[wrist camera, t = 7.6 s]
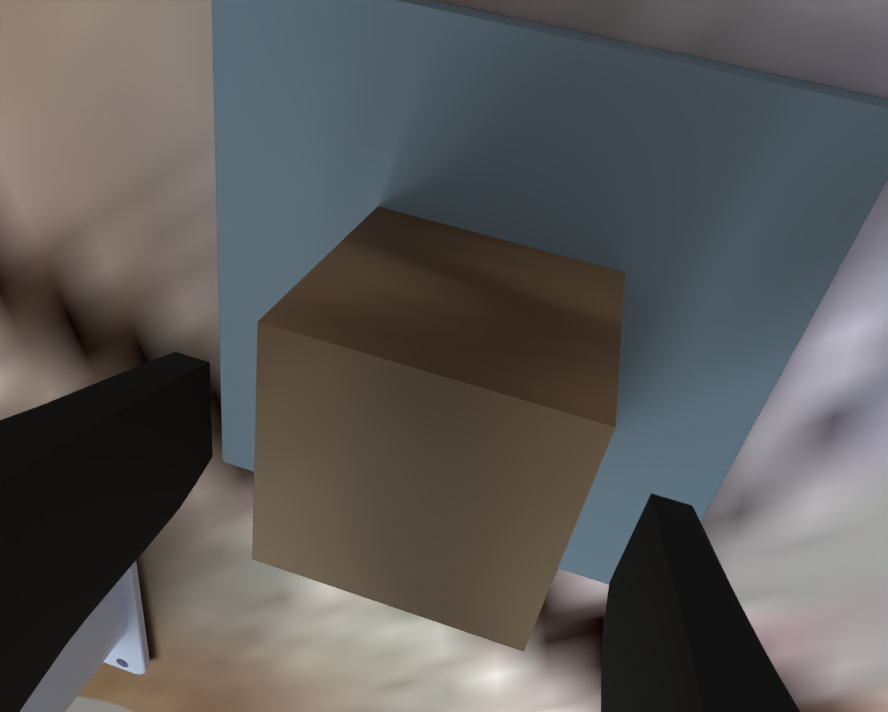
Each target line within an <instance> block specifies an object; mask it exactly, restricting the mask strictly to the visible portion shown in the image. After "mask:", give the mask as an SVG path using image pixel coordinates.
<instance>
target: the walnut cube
mask: <svg viewBox="0 0 888 712" xmlns="http://www.w3.org/2000/svg"><path fill="white" fill-rule="evenodd" d="M624 278H625V272H622V271H618V270H615V269H611V268H607V267H603V266H600V265H596V264H592V263H588V262H585V261H581V260H577V259H573V258H570V257H566V256H562V255H558V254H555V253H551V252H547V251H543V250H540V249H536V248H532V247H528V246H525V245H521V244H517V243H513V242H510V241H506V240H502V239H499V238H495V237H491V236H487V235H484V234H480V233H476V232H472V231H469V230H465V229H461V228H457V227H454V226H450V225H446V224H442V223H439V222H435V221H431V220H427V219H424V218H420V217H416V216H412V215H409V214H405V213H401V212H397V211H394V210H390V209H386V208H382V207H379V206H377V207H376V208H375V209H374V210H373V211H372V212H371V213H370V214H369V215H368V216H367V217H366V218H365V219H364V220H363V221H362V222H361V223H360V224H359V225H358V226H357V227H356V228H354V229H353V230H352V231H351V232H350V233H349V234H348V235H347V236H346V237H345V238H344V239H343V240H342V241H341V242H340V243H339V244H338V245H337V246H336V247H335V248H334V249H333V250H332V251H330V252H329V253H328V254H327V255H326V256H325V257H324V258H323V259H322V260H321V261H320V262H319V263H318V264H317V265H316V266H315V267H314V268H313V269H312V270H311V271H310V272H309V273H308V274H307V275H305V276H304V277H303V278H302V279H301V280H300V281H299V282H298V283H297V284H296V285H295V286H294V287H293V288H292V289H291V290H290V291H289V292H288V293H287V294H286V295H285V296H284V297H283V298H281V299H280V300H279V301H278V302H277V303H276V304H275V305H274V306H273V307H272V308H271V309H270V310H269V311H268V312H267V313H266V314H265V315H264V316H263V317H262V318H261V319H260V320H259V321H257V366H256V412H255V458H254V504H253V551H252V559H254V560H257V561H260V562H262V563H265V564H268V565H271V566H274V567H277V568H280V569H283V570H286V571H289V572H292V573H295V574H298V575H301V576H304V577H307V578H309V579H312V580H315V581H318V582H321V583H324V584H327V585H330V586H333V587H336V588H339V589H342V590H345V591H348V592H351V593H353V594H356V595H359V596H362V597H365V598H368V599H371V600H374V601H377V602H380V603H383V604H386V605H389V606H392V607H395V608H398V609H400V610H403V611H406V612H409V613H412V614H415V615H418V616H421V617H424V618H427V619H430V620H433V621H436V622H439V623H442V624H444V625H447V626H450V627H453V628H456V629H459V630H462V631H465V632H468V633H471V634H474V635H477V636H480V637H483V638H486V639H488V640H491V641H494V642H497V643H500V644H503V645H506V646H509V647H512V648H515V649H518V650H521V651H524V649H525V647H526V644H527V642H528V639H529V637H530V635H531V632H532V630H533V627H534V625H535V622H536V620H537V618H538V615H539V613H540V610H541V608H542V605H543V603H544V601H545V598H546V596H547V593H548V591H549V588H550V586H551V583H552V581H553V579H554V576H555V574H556V571H557V569H558V566H559V564H560V562H561V559H562V557H563V554H564V552H565V549H566V547H567V545H568V542H569V540H570V537H571V535H572V532H573V530H574V527H575V525H576V523H577V520H578V518H579V515H580V513H581V510H582V508H583V506H584V503H585V501H586V498H587V496H588V493H589V491H590V489H591V486H592V484H593V481H594V479H595V476H596V474H597V471H598V469H599V467H600V464H601V462H602V459H603V457H604V454H605V452H606V450H607V447H608V445H609V442H610V440H611V437H612V435H613V433H614V430H615V428H616V413H617V396H618V379H619V363H620V346H621V329H622V312H623V295H624Z"/></svg>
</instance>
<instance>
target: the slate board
mask: <svg viewBox="0 0 888 712" xmlns="http://www.w3.org/2000/svg"><path fill="white" fill-rule="evenodd" d="M212 30H213V73H214V115H215V158H216V201H217V244H218V286H219V329H220V372H221V415H222V457H223V462H226V463H229V464H232V465H235V466H238V467H241V468H244V469H248V470H251V471H254V458H255V412H256V366H257V321H259V320H260V319H261V318H262V317H263V316H264V315H265V314H266V313H267V312H268V311H269V310H270V309H271V308H272V307H273V306H274V305H275V304H276V303H277V302H278V301H279V300H280V299H281V298H283V297H284V296H285V295H286V294H287V293H288V292H289V291H290V290H291V289H292V288H293V287H294V286H295V285H296V284H297V283H298V282H299V281H300V280H301V279H302V278H303V277H304V276H305V275H307V274H308V273H309V272H310V271H311V270H312V269H313V268H314V267H315V266H316V265H317V264H318V263H319V262H320V261H321V260H322V259H323V258H324V257H325V256H326V255H327V254H328V253H329V252H330V251H332V250H333V249H334V248H335V247H336V246H337V245H338V244H339V243H340V242H341V241H342V240H343V239H344V238H345V237H346V236H347V235H348V234H349V233H350V232H351V231H352V230H353V229H354V228H356V227H357V226H358V225H359V224H360V223H361V222H362V221H363V220H364V219H365V218H366V217H367V216H368V215H369V214H370V213H371V212H372V211H373V210H374V209H375V208H376V207H377V206H379V207H382V208H386V209H390V210H394V211H397V212H401V213H405V214H409V215H412V216H416V217H420V218H424V219H427V220H431V221H435V222H439V223H442V224H446V225H450V226H454V227H457V228H461V229H465V230H469V231H472V232H476V233H480V234H484V235H487V236H491V237H495V238H499V239H502V240H506V241H510V242H513V243H517V244H521V245H525V246H528V247H532V248H536V249H540V250H543V251H547V252H551V253H555V254H558V255H562V256H566V257H570V258H573V259H577V260H581V261H585V262H588V263H592V264H596V265H600V266H603V267H607V268H611V269H615V270H618V271H622V272H625V278H624V295H623V312H622V329H621V346H620V363H619V379H618V396H617V413H616V428H615V430H614V433H613V435H612V437H611V440H610V442H609V445H608V447H607V450H606V452H605V454H604V457H603V459H602V462H601V464H600V467H599V469H598V471H597V474H596V476H595V479H594V481H593V484H592V486H591V489H590V491H589V493H588V496H587V498H586V501H585V503H584V506H583V508H582V510H581V513H580V515H579V518H578V520H577V523H576V525H575V527H574V530H573V532H572V535H571V537H570V540H569V542H568V545H567V547H566V549H565V552H564V554H563V557H562V559H561V562H560V564H559V566H558V568H559V569H562V570H565V571H568V572H572V573H575V574H578V575H581V576H584V577H587V578H590V579H594V580H597V581H600V582H603V583H606V584H609V583H610V580H611V578H612V576H613V574H614V571H615V569H616V567H617V565H618V563H619V561H620V559H621V557H622V554H623V552H624V550H625V548H626V546H627V544H628V542H629V540H630V537H631V535H632V533H633V531H634V529H635V527H636V525H637V522H638V520H639V518H640V516H641V514H642V512H643V510H644V508H645V505H646V503H647V501H648V499H649V497H650V495H651V493H652V494H655V495H659V496H662V497H665V498H669V499H672V500H675V501H679V502H682V503H686V504H689V505H692V506H693V508H694V510H695V512H696V513H697V515H698V518H699V520H700V522H701V520H702V518H703V516H704V514H705V512H706V511H707V509H708V507H709V505H710V503H711V502H712V500H713V498H714V496H715V494H716V492H717V491H718V489H719V487H720V485H721V483H722V481H723V480H724V478H725V476H726V474H727V472H728V470H729V469H730V467H731V465H732V463H733V461H734V459H735V458H736V456H737V454H738V452H739V450H740V448H741V447H742V445H743V443H744V441H745V439H746V437H747V436H748V434H749V432H750V430H751V428H752V426H753V425H754V423H755V421H756V419H757V417H758V416H759V414H760V412H761V410H762V408H763V406H764V405H765V403H766V401H767V399H768V397H769V395H770V394H771V392H772V390H773V388H774V386H775V384H776V383H777V381H778V379H779V377H780V375H781V373H782V372H783V370H784V368H785V366H786V364H787V362H788V361H789V359H790V357H791V355H792V353H793V351H794V350H795V348H796V346H797V344H798V342H799V340H800V339H801V337H802V335H803V333H804V331H805V329H806V328H807V326H808V324H809V322H810V320H811V319H812V317H813V315H814V313H815V311H816V309H817V308H818V306H819V304H820V302H821V300H822V298H823V297H824V295H825V293H826V291H827V289H828V287H829V286H830V284H831V282H832V280H833V278H834V276H835V275H836V273H837V271H838V269H839V267H840V265H841V264H842V262H843V260H844V258H845V256H846V254H847V253H848V251H849V249H850V247H851V245H852V243H853V242H854V240H855V238H856V236H857V234H858V233H859V231H860V229H861V227H862V225H863V223H864V222H865V220H866V218H867V216H868V214H869V212H870V211H871V209H872V207H873V205H874V203H875V201H876V200H877V198H878V196H879V194H880V192H881V190H882V189H883V187H884V185H885V183H886V181H887V179H888V99H885V98H881V97H876V96H872V95H867V94H862V93H858V92H853V91H849V90H844V89H839V88H835V87H830V86H826V85H821V84H816V83H812V82H807V81H803V80H798V79H793V78H789V77H784V76H780V75H775V74H770V73H766V72H761V71H757V70H752V69H747V68H743V67H738V66H734V65H729V64H724V63H720V62H715V61H711V60H706V59H701V58H697V57H692V56H688V55H683V54H678V53H674V52H669V51H665V50H660V49H655V48H651V47H646V46H642V45H637V44H632V43H628V42H623V41H619V40H614V39H609V38H605V37H600V36H596V35H591V34H586V33H582V32H577V31H573V30H568V29H563V28H559V27H554V26H550V25H545V24H540V23H536V22H531V21H527V20H522V19H517V18H513V17H508V16H504V15H499V14H494V13H490V12H485V11H481V10H476V9H471V8H467V7H462V6H458V5H453V4H448V3H444V2H439V1H435V0H212Z"/></svg>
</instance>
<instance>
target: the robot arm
mask: <svg viewBox="0 0 888 712" xmlns="http://www.w3.org/2000/svg"><path fill="white" fill-rule="evenodd" d="M211 458H212V428H211V396H210V365H209V362H207V361H204V360H200V359H197V358H193V357H190V356H187V355H183V354H180V353H177V352H174V353H172V354H169V355H166V356H163V357H160V358H158V359H155V360H152V361H150V362H147V363H145V364H142V365H140V366H137V367H135V368H132V369H130V370H127V371H125V372H122V373H120V374H118V375H115V376H113V377H110V378H108V379H105V380H103V381H101V382H98V383H96V384H93V385H91V386H88V387H86V388H83V389H81V390H78V391H76V392H73V393H71V394H69V395H66V396H64V397H61V398H59V399H56V400H54V401H51V402H49V403H46V404H44V405H41V406H39V407H36V408H33V409H30V410H28V411H25V412H22V413H19V414H17V415H14V416H11V417H8V418H6V419H3V420H0V712H65V711H66V710H67V709H68V707H69V706H70V705H71V704H72V702H73V701H74V699H75V698H76V697H77V696H78V694H79V693H80V692H81V690H82V689H83V688H84V687H85V685H86V684H87V683H88V681H89V680H90V679H91V677H92V676H93V675H94V673H95V672H96V671H97V669H98V668H99V667H100V665H101V664H102V663H103V662H105V663H107V664H110V665H113V666H116V667H118V668H121V669H124V670H127V671H129V672H132V673H135V674H143V673H145V672H146V670H147V669H148V667H149V666H150V660H149V652H148V645H147V637H146V630H145V623H144V615H143V608H142V600H141V593H140V585H139V578H138V571H137V563H136V560H137V558H138V557H139V556H140V555H141V554H142V553H143V551H144V550H145V549H146V548H147V547H148V545H149V544H150V543H151V542H152V541H153V539H154V538H155V537H156V536H157V535H158V533H159V532H160V531H161V530H162V529H163V527H164V526H165V525H166V524H167V523H168V521H169V520H170V519H171V518H172V517H173V515H174V514H175V513H176V512H177V510H178V509H179V508H180V507H181V505H182V504H183V502H184V501H185V499H186V498H187V496H188V495H189V493H190V492H191V490H192V488H193V487H194V485H195V484H196V482H197V481H198V479H199V477H200V476H201V474H202V473H203V471H204V469H205V468H206V466H207V464H208V463H209V461H210V460H211ZM601 712H800V711H799V709H798V707H797V706H796V704H795V702H794V701H793V699H792V697H791V695H790V694H789V692H788V690H787V689H786V687H785V685H784V684H783V682H782V680H781V679H780V677H779V675H778V673H777V672H776V670H775V668H774V666H773V664H772V663H771V661H770V659H769V657H768V656H767V654H766V652H765V650H764V648H763V646H762V645H761V643H760V641H759V639H758V637H757V635H756V633H755V631H754V629H753V628H752V626H751V624H750V622H749V620H748V618H747V616H746V614H745V612H744V611H743V609H742V607H741V605H740V603H739V601H738V599H737V597H736V595H735V593H734V591H733V589H732V587H731V585H730V583H729V581H728V579H727V577H726V575H725V572H724V570H723V568H722V566H721V564H720V562H719V560H718V558H717V556H716V554H715V552H714V549H713V547H712V545H711V543H710V541H709V539H708V537H707V535H706V532H705V530H704V528H703V526H702V524H701V522H700V520H699V518H698V515H697V513H696V512H695V510H694V508H693V506H692V505H689V504H686V503H682V502H679V501H675V500H672V499H669V498H665V497H662V496H659V495H655V494H652V493H651V495H650V497H649V499H648V501H647V503H646V505H645V508H644V510H643V512H642V514H641V516H640V518H639V520H638V522H637V525H636V527H635V529H634V531H633V533H632V535H631V537H630V540H629V542H628V544H627V546H626V548H625V550H624V552H623V554H622V557H621V559H620V561H619V563H618V565H617V567H616V569H615V571H614V574H613V576H612V578H611V580H610V583H609V591H608V598H607V606H606V613H605V622H604V630H603V639H602V667H601Z"/></svg>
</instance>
